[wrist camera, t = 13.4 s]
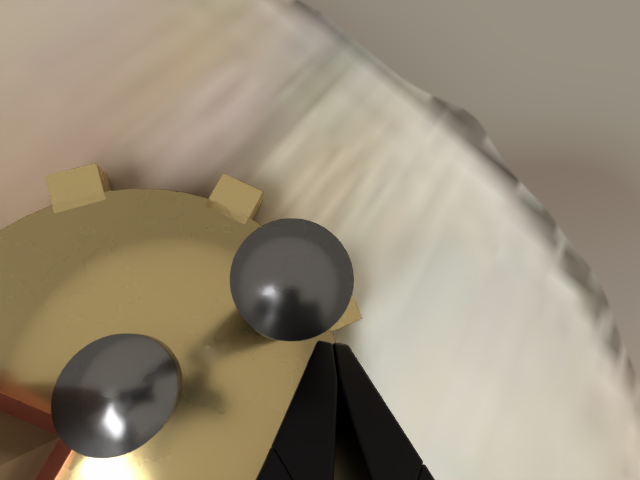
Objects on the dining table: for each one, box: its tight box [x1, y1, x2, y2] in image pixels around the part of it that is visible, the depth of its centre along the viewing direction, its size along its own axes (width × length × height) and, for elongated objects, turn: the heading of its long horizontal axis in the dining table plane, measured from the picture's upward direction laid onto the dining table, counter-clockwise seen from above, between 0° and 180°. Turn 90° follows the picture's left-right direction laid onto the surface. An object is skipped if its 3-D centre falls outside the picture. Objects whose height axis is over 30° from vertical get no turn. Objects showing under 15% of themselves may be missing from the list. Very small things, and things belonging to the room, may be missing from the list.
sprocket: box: [0, 163, 362, 480], centre depth 10 cm, size 21×21×10 cm
